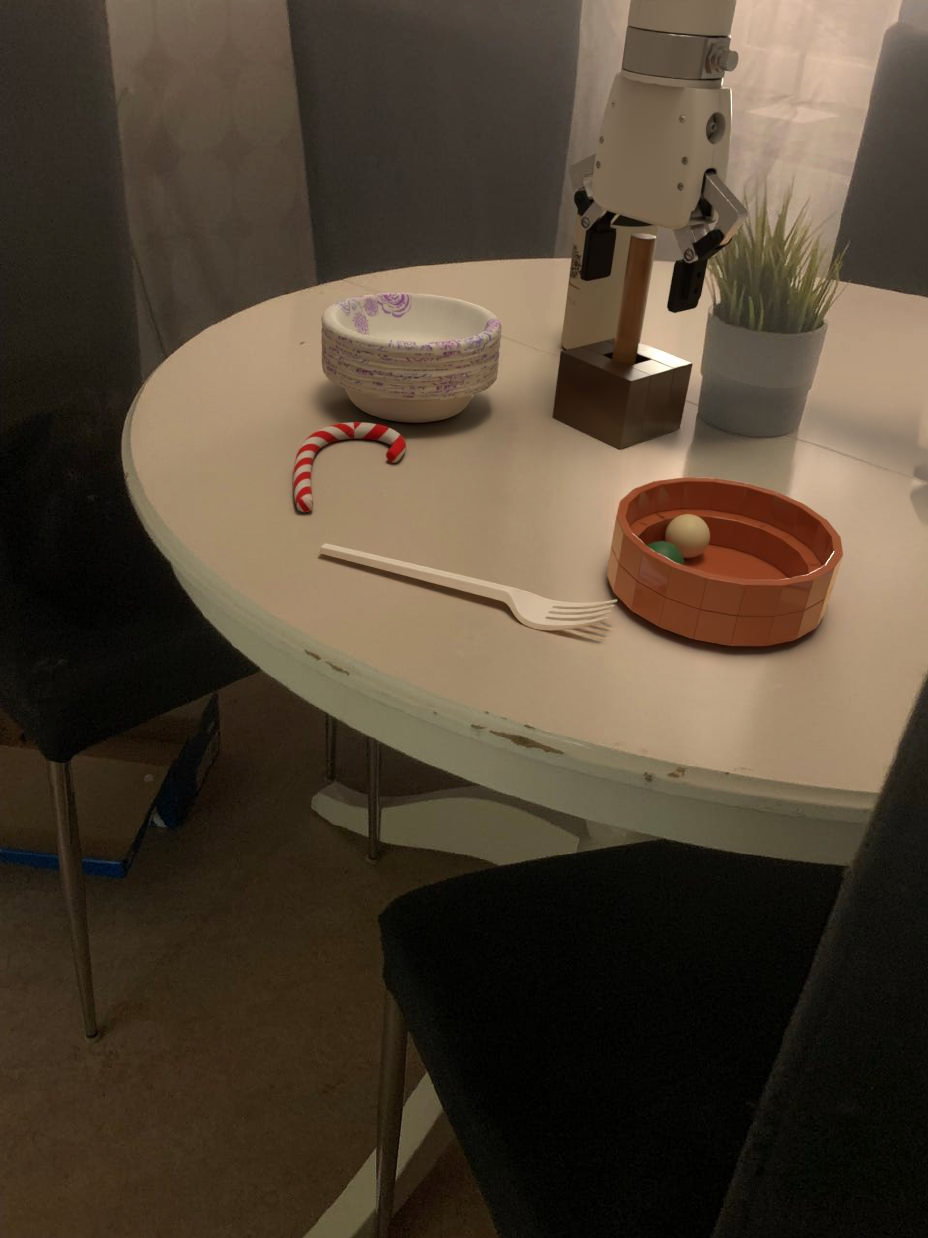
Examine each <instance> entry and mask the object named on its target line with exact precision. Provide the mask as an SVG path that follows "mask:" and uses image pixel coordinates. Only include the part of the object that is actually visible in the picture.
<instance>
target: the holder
mask: <svg viewBox="0 0 928 1238" xmlns="http://www.w3.org/2000/svg"><path fill="white" fill-rule="evenodd" d="M614 344H615V338H612V339H608V340H605V341H600V342H596V343H592V344H588V345H584V346H580V347H576V348H572V349H568V350H567V349H563V350H560V353H559V360H558V368H557V369H558V370H557V377H556V385H555V394H554V401H553V409H552V418H554V419H556V420H557V421H560V422H562V423H564V424H566V425H568V426H570V427H572V428H575V429H577V430H579V431H581V432H583V433H585V434H587V435H589V436H591V437H593V438H595V439H597V440H599V441H601V442H603V443H605V444H607V445H610V446H612V447H614V448H617V449H619V450H622V449H625V448H629V447H631V446H634V445H637V444H639V443H642V442H646V441H649V440H651V439H655V438H657V437H660V436H662V435H665V434H669V433H672V432H674V431H677V430H680V429H681V427H682V421H683V416H684V410H685V406H686V399H687V395H688V389H689V385H690V379H691V376H692V370H693V364H694V363H692V362H691V361H688V360H685V359H683V358H680V357H677V356H675V355H672V354H671V353H668V352H665V351H662V350H660V349H657V348H655V347H652V346H649V345H647V344H644V343H643V342H641V341H640V342H639V345H638V351H637V357H636V363H635V364H634V365H631V366H627V365H625V364H622V363H620V362H617V361H615V360H612V357H613V350H614Z"/></svg>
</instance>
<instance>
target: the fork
mask: <svg viewBox="0 0 928 1238" xmlns="http://www.w3.org/2000/svg"><path fill="white" fill-rule="evenodd" d="M317 553H318V554H321V555H325V556H328V557H333V558H336V559H340V560H344V561H348V562H352V563H356V564H360V565H364V566H366V567H371V568H374V569H378V570H382V571H385V572H386V571H387V572H389V573H393V574H398V575H401V576H406V577H409V578H413V579H417V580H420V581H425V582H427V583H432V584H436V585H440V586H443V587H447V588H451V589H455V590H459V591H462V592H466V593H469V594H474V595H478V596H481V597H485V598H489V599H492V600H497V601H501V602H503V603H505V604H506V605H507V606H508V607H509V609H510V611H511V612H512V614H513V616H514V617H515V618H516V620H518V621H519V622H520V623H521V624H522V625H524V626H526V627H528V628H531V629H535V630H540V631H566V630H573V629H578V628H579V629H580V628H583V627H587V626H591V625H594V624H598V623H600V622H603V621H605V620H607V619H609V616H608V614H610V613H612V610H611V609H612V608H614V607H615V604H614V603H617V602H618V599H616V598H615V599H611V600H605V601H593V602H592V601H591V602H576V601H575V602H573V601H564V600H557V599H551V598H547V597H544V596H541V595H538V594H536V593H535V592H531V591H528V590H524V589H521V588H517V587H512V586H509V585H506V584H505V585H504V584H500V583H498V582H497V583H495V582H492V581H488V580H484V579H479V578H475V577H471V576H467V575H463V574H459V573H454V572H450V571H446V570H442V569H437V568H433V567H429V566H425V565H420V564H415V563H412V562H407V561H404V560H399V559H395V558H390V557H386V556H382V555H378V554H374V553H369V552H365V551H362V550H357V549H353V548H348V547H345V546H340V545H336V544H331V543H327V542H324V543H323V544H322V545H321V546H320V547H319V550H318V552H317ZM605 615H607V616H605Z"/></svg>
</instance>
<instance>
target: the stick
mask: <svg viewBox="0 0 928 1238" xmlns="http://www.w3.org/2000/svg"><path fill="white" fill-rule="evenodd" d="M655 241H656V237H655V236H653V235H650V234H645V233H634V234H632V235H631V238H630V245H629V251H628V258H627V265H626V271H625V278H624V284H623V291H622V298H621V304H620V311H619V317H618V324H617V330H616V337H615V344H614V350H613V357H612V360H615V361H617V362H620V363H622V364H625V365H627V366H631V365H634V364H635V363H636V357H637V351H638V345H639V339H640V333H641V327H642V320H643V314H644V308H645V302H646V296H647V290H648V284H649V278H650V272H651V266H652V260H653V254H654V247H655Z"/></svg>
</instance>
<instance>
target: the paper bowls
mask: <svg viewBox="0 0 928 1238" xmlns="http://www.w3.org/2000/svg"><path fill="white" fill-rule="evenodd" d="M320 321H321V341H320V343H321V369H322V372H323V374H324V375H325V377H326V378H327V379H328V380H329V381H331V382H332V383H333V384H335V385H337V386H339V387H340V388H343V389H344V390H345V392H346V394H347V396H348V398H349V399H350V401H351V403H353V404H354V406H356V407H357V408H358V409H359V410H361V411H362V412H364V413H366V414H368V415H371V416H373V417H377V418H379V419H383V420H387V421H392V422H400V423H410V424H411V423H413V424H419V423H422V424H423V423H431V422H440V421H443V420H446V419H450V418H452V417H454V416H456V415H458V414H459V413H461V412H463V410H465V409H466V408H467V407H468V405H469V403H470V402H471V400H472V398H473V396H474V395H476V394H479V393H482V392H484V391H486V390H488V389H490V387H491V386H493V384H494V383H495V382H496V381H497V379H498V373H499V371H498V370H499V369H498V368H499V364H500V363H499V361H500V348H501V339H502V324H501V321H500V319H499V318H498V316H496V314H494V313H493V312H492V311H491V310H489V309H487V308H485V307H483V306H481V305H479V304H475V303H473V302H470V301H466V300H464V299H459V298H455V297H449V296H442V295H437V294H429V293H428V294H427V293H419V292H418V293H417V292H382V293H371V294H364V295H363V294H362V295H357V296H351V297H348V298H345V299H341V300H339V301H336V302H334V303H333V304H330V305H329V306H328V307H327V308H326V309H324V311H323V312H322V315H321V318H320Z"/></svg>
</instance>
